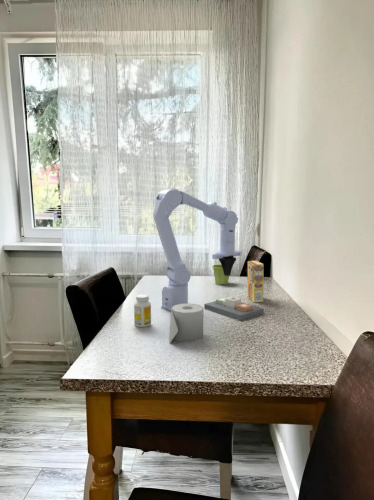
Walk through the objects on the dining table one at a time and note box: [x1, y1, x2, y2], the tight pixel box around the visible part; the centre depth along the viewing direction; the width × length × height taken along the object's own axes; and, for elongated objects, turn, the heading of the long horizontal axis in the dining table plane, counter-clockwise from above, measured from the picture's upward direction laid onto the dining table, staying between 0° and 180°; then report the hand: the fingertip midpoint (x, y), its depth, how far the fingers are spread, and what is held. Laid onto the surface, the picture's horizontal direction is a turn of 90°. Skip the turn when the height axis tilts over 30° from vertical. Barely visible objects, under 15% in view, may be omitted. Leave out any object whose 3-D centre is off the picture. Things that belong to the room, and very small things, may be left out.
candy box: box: [247, 260, 265, 303], centre depth 146 cm, size 9×4×15 cm, turn 8°
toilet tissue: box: [168, 302, 204, 344], centre depth 105 cm, size 9×13×9 cm
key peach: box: [236, 303, 252, 312], centre depth 127 cm, size 4×4×3 cm
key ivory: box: [225, 296, 242, 309], centre depth 131 cm, size 4×4×3 cm
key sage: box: [215, 297, 227, 306], centre depth 135 cm, size 4×4×3 cm
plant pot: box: [211, 263, 230, 286], centre depth 175 cm, size 9×9×9 cm
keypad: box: [203, 300, 265, 321], centre depth 132 cm, size 12×18×2 cm, turn 39°
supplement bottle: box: [133, 293, 152, 328], centre depth 117 cm, size 5×5×10 cm
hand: (227, 275), depth 144 cm, fingers closed
